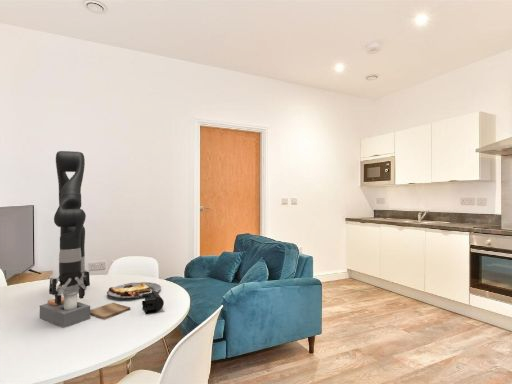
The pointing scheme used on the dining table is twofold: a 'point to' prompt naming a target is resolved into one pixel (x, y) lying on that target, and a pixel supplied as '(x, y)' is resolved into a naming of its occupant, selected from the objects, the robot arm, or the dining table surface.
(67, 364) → the dining table surface
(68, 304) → the cylinder
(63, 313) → the grey hollow block
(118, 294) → the food plate
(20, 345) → the dining table surface
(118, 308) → the walnut board
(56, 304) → the orange cube
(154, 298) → the end cap
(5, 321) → the dining table surface
